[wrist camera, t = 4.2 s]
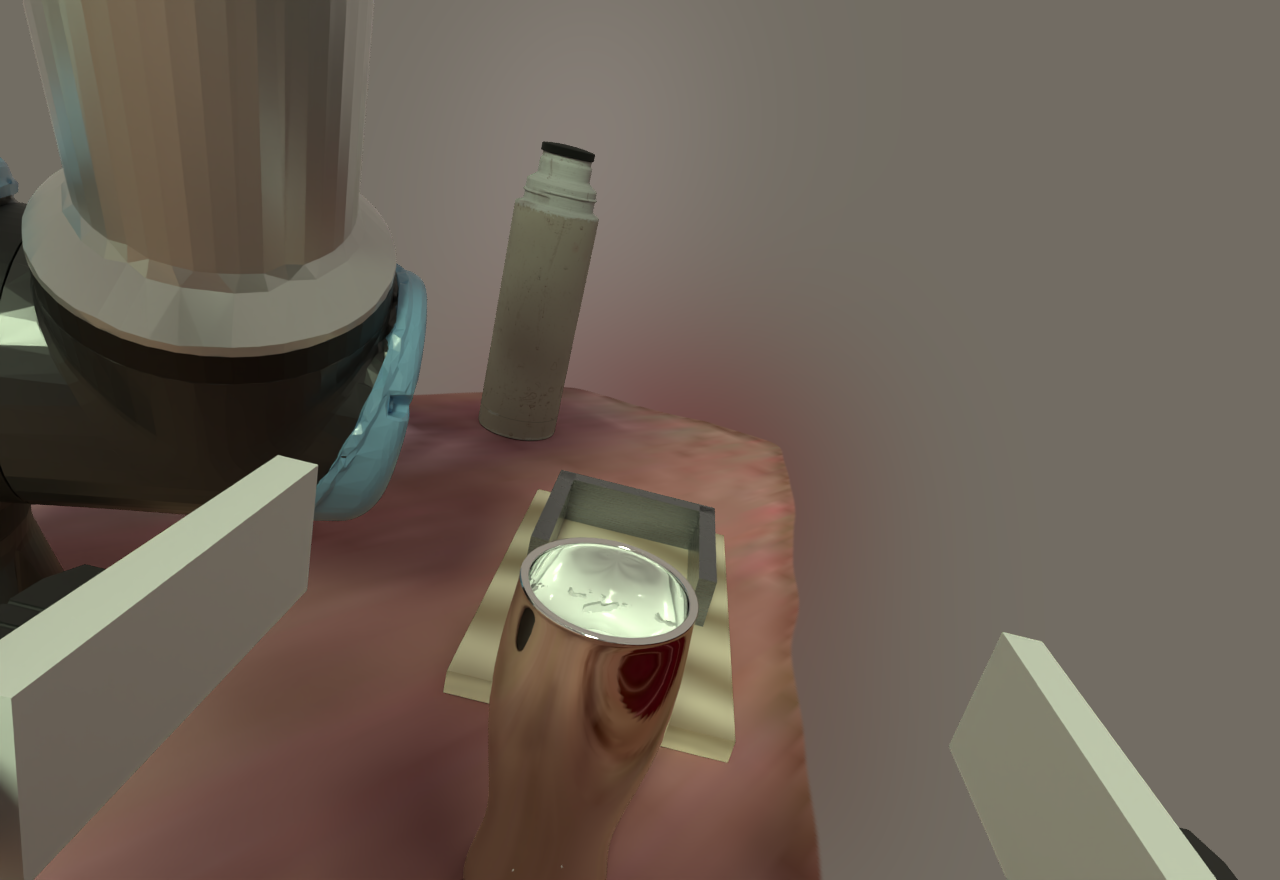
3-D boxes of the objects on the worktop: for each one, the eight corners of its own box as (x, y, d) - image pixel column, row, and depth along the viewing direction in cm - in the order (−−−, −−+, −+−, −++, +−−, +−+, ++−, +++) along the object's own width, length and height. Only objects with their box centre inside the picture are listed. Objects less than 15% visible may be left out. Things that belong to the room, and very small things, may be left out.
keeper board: (727, 762, 41) (735, 741, 41) (443, 692, 41) (447, 670, 41) (718, 550, 64) (723, 535, 63) (534, 504, 63) (538, 489, 63)
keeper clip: (702, 626, 50) (717, 582, 49) (521, 581, 50) (530, 536, 49) (702, 546, 60) (714, 508, 59) (552, 508, 60) (561, 469, 59)
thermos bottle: (518, 406, 84) (567, 144, 74) (569, 434, 80) (629, 160, 70) (462, 415, 78) (508, 130, 68) (515, 446, 74) (571, 147, 64)
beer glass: (442, 820, 34) (497, 531, 28) (588, 801, 37) (662, 535, 31) (464, 977, 28) (538, 651, 23) (636, 941, 31) (738, 643, 25)
